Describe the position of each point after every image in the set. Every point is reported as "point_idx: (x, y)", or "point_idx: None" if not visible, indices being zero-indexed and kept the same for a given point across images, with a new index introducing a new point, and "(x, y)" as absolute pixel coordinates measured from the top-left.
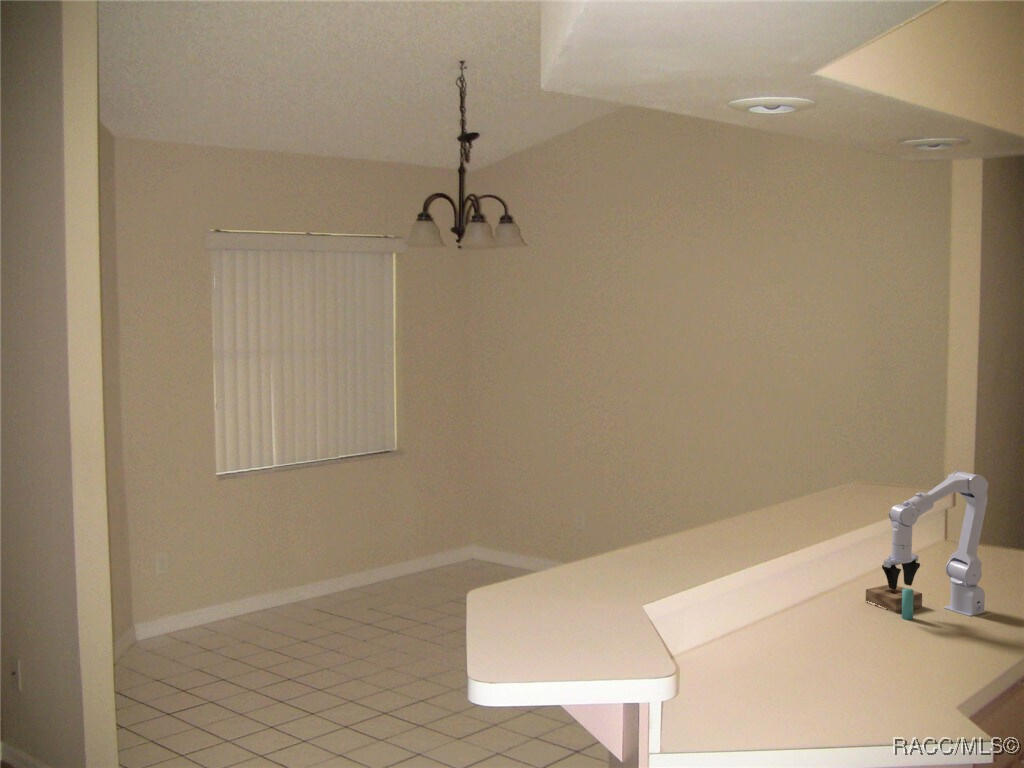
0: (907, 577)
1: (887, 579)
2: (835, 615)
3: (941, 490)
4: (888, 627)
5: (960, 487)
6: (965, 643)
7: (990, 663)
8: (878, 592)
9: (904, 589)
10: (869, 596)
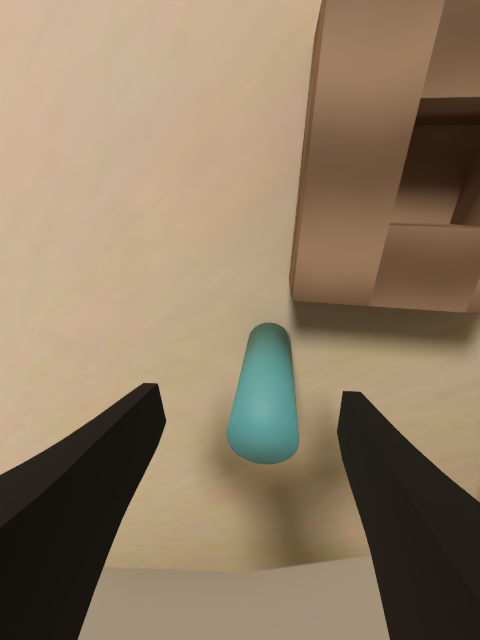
0: (364, 469)
1: (82, 430)
2: (25, 129)
3: None
4: (137, 353)
5: None
6: (226, 509)
7: (173, 557)
8: (336, 116)
9: (252, 423)
10: (316, 49)
